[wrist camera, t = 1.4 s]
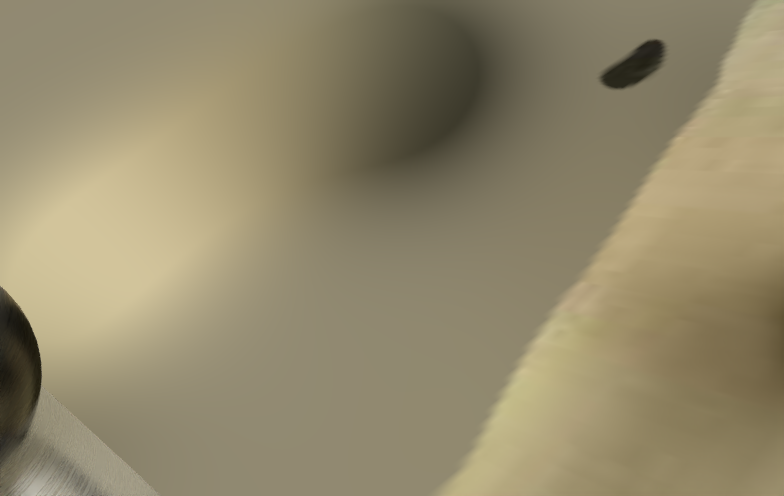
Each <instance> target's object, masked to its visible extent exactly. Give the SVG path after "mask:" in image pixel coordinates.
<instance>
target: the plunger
mask: <svg viewBox="0 0 784 496" xmlns="http://www.w3.org/2000/svg"><path fill="white" fill-rule="evenodd" d="M41 379H42V371H41V358H40V353H39V348H38V344H37V340H36V337H35V335H34V333H33V330H32V328H31V325H30V323H29V321H28V319H27V318H26V316H25V315H24V313H23V311H22V310H21V308H20V307H19V306H18V304H17V303H16V302H15V301H14V300H13V299H12V297H11V296H10V295H9V294H8V293H7V292H6V291H5V290H4V289H3V288H2V287H0V496H161V495H160V494H159V493H158V492H157V491H155V490H154V489H153V488H152V487H151V486H150V485H149V484H148V483H147V482H146V481H145V480H144V479H143V478H141V477H140V476H139V475H138V474H137V473H136V472H135V471H134V470H133V469H132V468H130V467H129V466H128V465H127V464H126V463H125V462H124V461H123V460H122V459H121V458H120V457H119V456H118V455H116V454H115V453H114V452H113V451H112V450H111V449H110V448H109V447H108V446H107V445H106V444H104V443H103V442H102V441H101V440H100V439H99V438H98V437H97V436H96V435H95V434H94V433H93V432H91V431H90V430H89V429H88V428H87V427H86V426H85V425H84V424H83V423H82V422H81V421H79V420H78V419H77V418H76V417H75V416H74V415H73V414H72V413H71V412H70V411H69V410H67V409H66V408H65V407H64V406H63V405H62V404H61V403H60V402H59V401H58V400H57V399H56V398H54V397H53V396H52V395H51V394H50V393H49V392H48V391H47V390H46V389H45V388H44V387H43V386H41Z"/></svg>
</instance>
